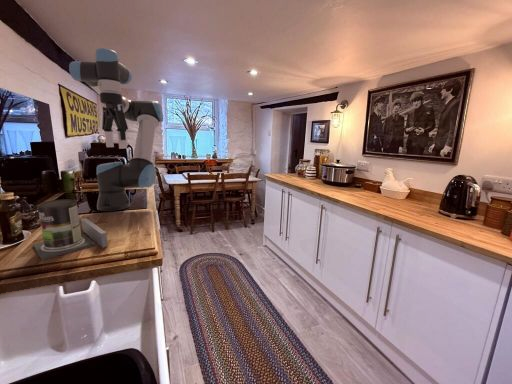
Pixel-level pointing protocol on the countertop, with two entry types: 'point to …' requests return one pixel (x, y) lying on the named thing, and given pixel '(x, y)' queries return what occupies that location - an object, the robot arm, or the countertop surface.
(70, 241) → the coffee can
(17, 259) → the countertop surface
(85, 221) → the low wall
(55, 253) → the mat
